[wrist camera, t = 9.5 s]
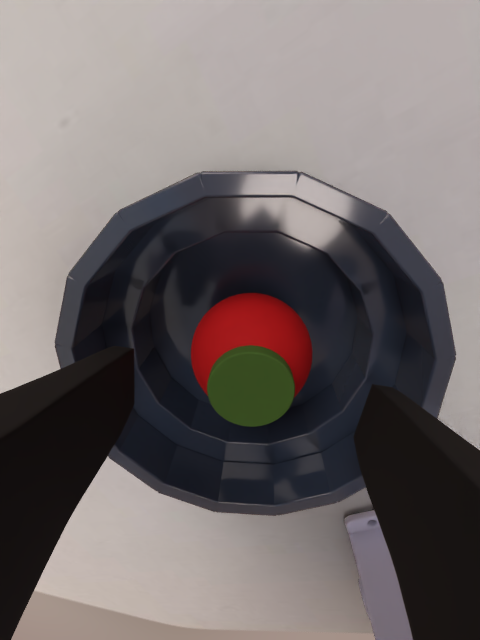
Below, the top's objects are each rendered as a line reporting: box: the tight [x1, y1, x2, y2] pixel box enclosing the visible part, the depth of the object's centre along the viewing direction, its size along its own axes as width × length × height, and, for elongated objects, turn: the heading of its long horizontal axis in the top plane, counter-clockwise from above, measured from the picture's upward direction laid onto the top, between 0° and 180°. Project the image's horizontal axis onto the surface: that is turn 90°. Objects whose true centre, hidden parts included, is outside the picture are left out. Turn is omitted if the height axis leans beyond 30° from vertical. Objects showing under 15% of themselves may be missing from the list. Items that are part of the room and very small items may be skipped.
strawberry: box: [191, 293, 312, 427], centre depth 11 cm, size 4×4×5 cm
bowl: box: [55, 171, 456, 516], centre depth 12 cm, size 12×12×4 cm
